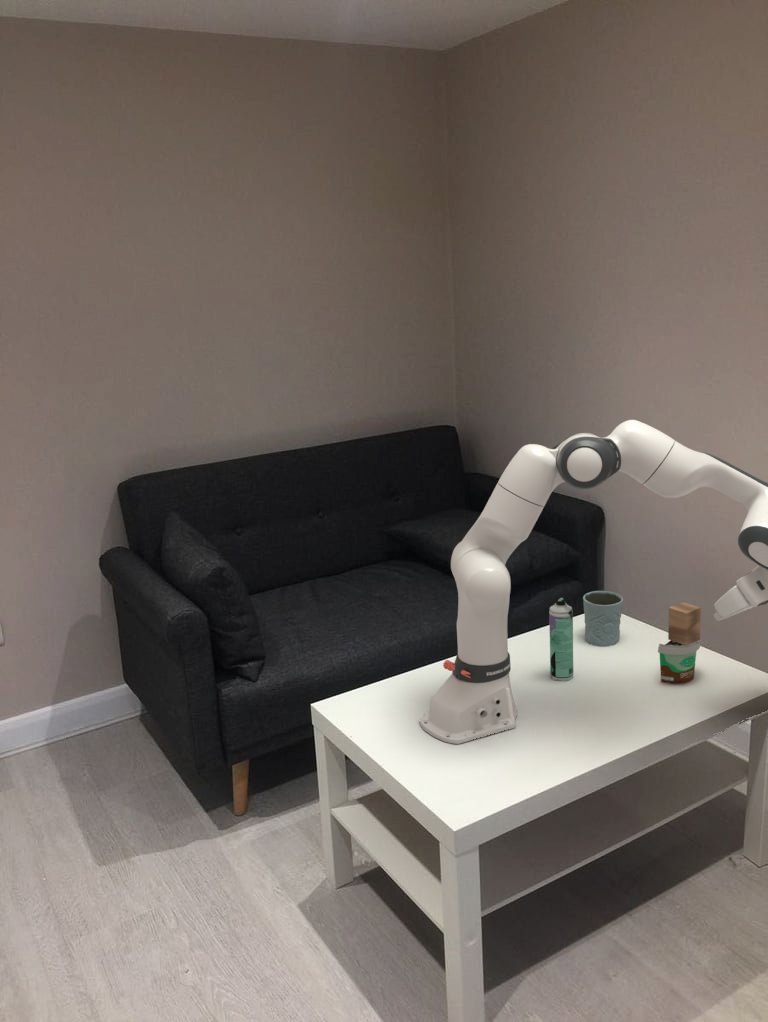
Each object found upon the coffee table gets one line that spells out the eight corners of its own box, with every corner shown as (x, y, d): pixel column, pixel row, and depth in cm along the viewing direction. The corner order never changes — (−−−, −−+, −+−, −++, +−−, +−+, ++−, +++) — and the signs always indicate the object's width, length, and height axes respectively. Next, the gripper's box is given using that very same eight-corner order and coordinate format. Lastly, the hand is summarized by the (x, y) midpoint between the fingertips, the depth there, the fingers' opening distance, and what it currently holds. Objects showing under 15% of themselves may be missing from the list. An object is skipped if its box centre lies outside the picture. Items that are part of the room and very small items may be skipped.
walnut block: (685, 645, 211) (686, 613, 209) (668, 639, 215) (668, 607, 213) (699, 639, 213) (700, 607, 211) (682, 633, 217) (682, 602, 215)
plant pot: (592, 630, 248) (592, 588, 245) (628, 636, 242) (628, 594, 239) (577, 643, 240) (576, 600, 237) (614, 650, 234) (614, 607, 231)
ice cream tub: (680, 691, 211) (681, 651, 208) (657, 683, 215) (657, 644, 213) (709, 673, 218) (710, 634, 216) (686, 666, 223) (687, 628, 220)
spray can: (573, 671, 224) (572, 594, 219) (573, 681, 219) (572, 603, 214) (550, 670, 225) (549, 594, 220) (550, 680, 220) (548, 603, 215)
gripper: (794, 558, 198) (751, 589, 208) (735, 579, 187) (693, 611, 197) (811, 583, 195) (767, 612, 206) (753, 606, 184) (709, 636, 195)
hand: (730, 612), depth 201 cm, fingers open, 8 cm apart
